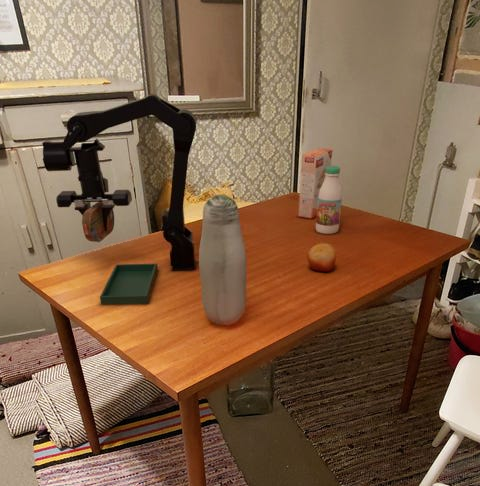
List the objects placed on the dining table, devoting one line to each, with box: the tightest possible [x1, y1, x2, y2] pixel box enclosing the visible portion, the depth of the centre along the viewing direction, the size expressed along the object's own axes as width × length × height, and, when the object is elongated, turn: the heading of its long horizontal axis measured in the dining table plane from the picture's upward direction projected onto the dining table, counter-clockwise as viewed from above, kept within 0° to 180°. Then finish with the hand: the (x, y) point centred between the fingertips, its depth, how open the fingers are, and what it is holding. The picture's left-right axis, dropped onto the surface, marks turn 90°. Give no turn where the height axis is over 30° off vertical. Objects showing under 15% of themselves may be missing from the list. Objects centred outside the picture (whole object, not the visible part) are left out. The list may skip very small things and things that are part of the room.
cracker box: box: [297, 147, 333, 220], centre depth 176 cm, size 14×6×21 cm, turn 149°
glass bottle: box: [198, 194, 247, 326], centre depth 107 cm, size 10×10×28 cm
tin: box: [81, 202, 115, 243], centre depth 133 cm, size 15×3×8 cm, turn 169°
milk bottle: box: [315, 165, 343, 235], centre depth 160 cm, size 8×8×20 cm
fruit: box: [306, 242, 337, 272], centre depth 138 cm, size 8×8×8 cm
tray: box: [99, 263, 159, 306], centre depth 131 cm, size 12×21×2 cm, turn 1°
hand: (100, 230), depth 135 cm, fingers closed on tin, 3 cm apart
